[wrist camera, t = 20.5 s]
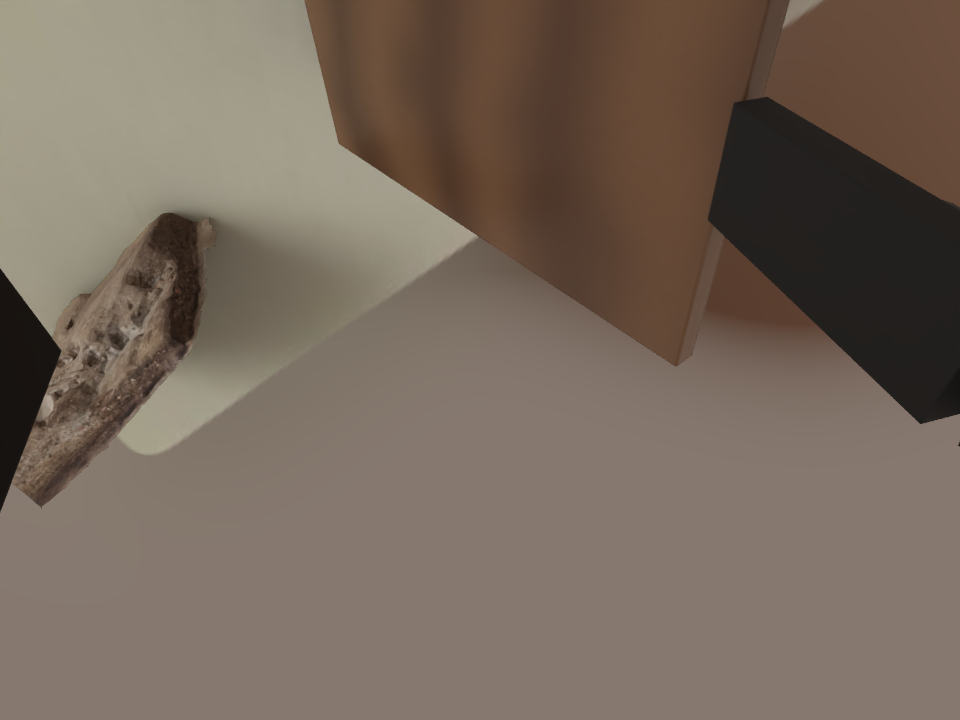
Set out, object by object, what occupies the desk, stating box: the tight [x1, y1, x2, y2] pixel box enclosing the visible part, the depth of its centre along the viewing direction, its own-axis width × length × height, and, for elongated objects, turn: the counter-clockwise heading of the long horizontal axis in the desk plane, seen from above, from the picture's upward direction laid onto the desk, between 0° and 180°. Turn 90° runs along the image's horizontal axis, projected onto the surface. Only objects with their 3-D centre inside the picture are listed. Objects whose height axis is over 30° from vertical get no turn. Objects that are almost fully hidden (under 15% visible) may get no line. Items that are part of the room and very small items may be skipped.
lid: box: [305, 0, 790, 366], centre depth 19 cm, size 21×13×1 cm
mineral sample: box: [12, 213, 217, 507], centre depth 37 cm, size 17×4×15 cm, turn 130°
